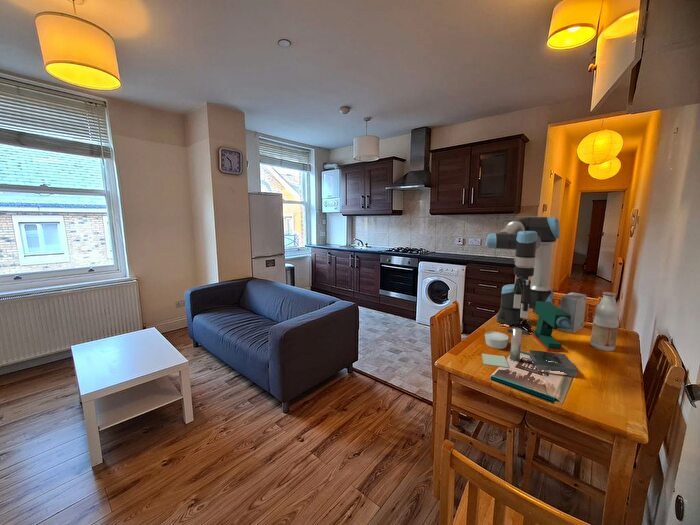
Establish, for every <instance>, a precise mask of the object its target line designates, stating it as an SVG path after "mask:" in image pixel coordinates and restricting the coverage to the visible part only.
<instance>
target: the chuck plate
mask: <svg viewBox="0 0 700 525" xmlns="http://www.w3.org/2000/svg"><path fill="white" fill-rule="evenodd" d="M529 356H530V357H529ZM528 357H529V359H530V358H531V359H532V361H533V362H534V364H535V366H536V368H537V370H551V371H560V372H564V373H566V374H567V375H569V376H571V378H577V375H578V368H577V367H576V366H575V365H574V363H573V362H572V360H570V358H569V357H568V356H567V354H565V353H561V352H553V351H541V350H534V349H529V354H528ZM531 359H530V360H531ZM546 360H547V361H546ZM532 361H531V362H532ZM548 361H556V362H558V363H555V362H548ZM536 368H535V369H536ZM537 370H536V371H537ZM569 376H568V377H569Z"/></svg>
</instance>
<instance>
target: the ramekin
mask: <svg viewBox="0 0 700 525" xmlns="http://www.w3.org/2000/svg"><path fill="white" fill-rule="evenodd" d="M484 338H485V343H486V345H487V346H488V347H490V348H493V349H495V350H496V349H497V350H503V349H506V347H507V346H508V342H509V340H510V338H509V335H507V334H506V333H502V332H499V331H486V332H485V333H484Z"/></svg>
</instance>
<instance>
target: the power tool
mask: <svg viewBox="0 0 700 525" xmlns="http://www.w3.org/2000/svg"><path fill="white" fill-rule="evenodd" d="M534 313H535V314H536V315H537V316H538V318H537V323H536V326H535V329H533V333H532V336H531V337H533V339H535V340H536V341H537V343H539V344H540V345H541V346H542V347H543V348H544V349H545V351H546V352H552V353H563V349H562V344H561V343H560V342H559V341H558V340H557V339H556V338H555V337H554V336H553V335H552V334H553V331H554V330H558V328H561V329H572V330H573V328H572V327H571V321H570V320H571V315H569V314H568V313H566V312H564V311H563V310H561V309H560V307H558V306H557V305H556V304H553V302H552V303H550V302H542V301H536V305H535V309H534Z"/></svg>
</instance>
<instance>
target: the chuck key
mask: <svg viewBox="0 0 700 525" xmlns="http://www.w3.org/2000/svg"><path fill="white" fill-rule="evenodd" d="M506 333H509V334H511V339H510V340H511V341H510V351H509V360H510V359H511V360H510V361H512V360H513V361H512V362H515V361H519V360H520V359H521V349H522V348H521V347H522V340H523V339H522V337H523V335H528V330H525V329H524V330H523V329H522V328H519V327H515V326H514V327H512V328H506ZM520 361H521V360H520ZM520 361H519V362H520Z"/></svg>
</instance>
